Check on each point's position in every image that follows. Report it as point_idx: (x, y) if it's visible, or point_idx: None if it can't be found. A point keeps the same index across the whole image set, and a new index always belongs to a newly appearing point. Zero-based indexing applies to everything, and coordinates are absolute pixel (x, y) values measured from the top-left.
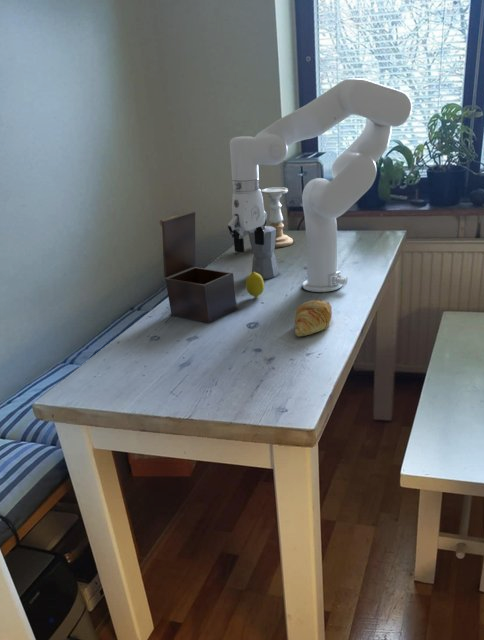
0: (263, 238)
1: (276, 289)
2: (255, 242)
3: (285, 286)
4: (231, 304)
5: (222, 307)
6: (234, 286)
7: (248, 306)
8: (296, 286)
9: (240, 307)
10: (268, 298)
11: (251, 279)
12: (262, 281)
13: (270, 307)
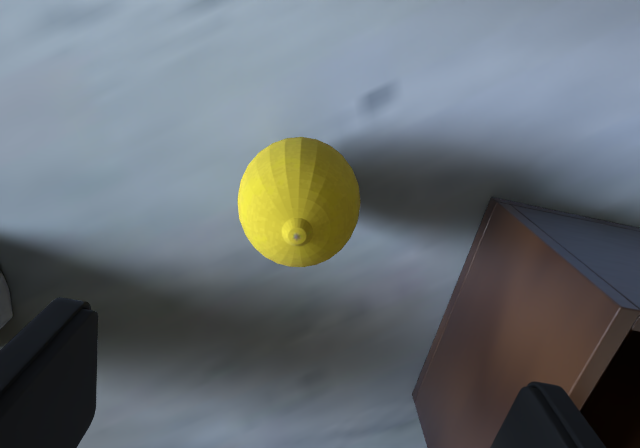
0: (17, 360)
1: (128, 117)
2: (85, 425)
3: (52, 82)
4: (545, 218)
5: (621, 236)
6: (556, 252)
7: (443, 154)
8: (17, 2)
9: (463, 189)
10: (294, 96)
11: (352, 217)
12: (296, 149)
13: (445, 11)
